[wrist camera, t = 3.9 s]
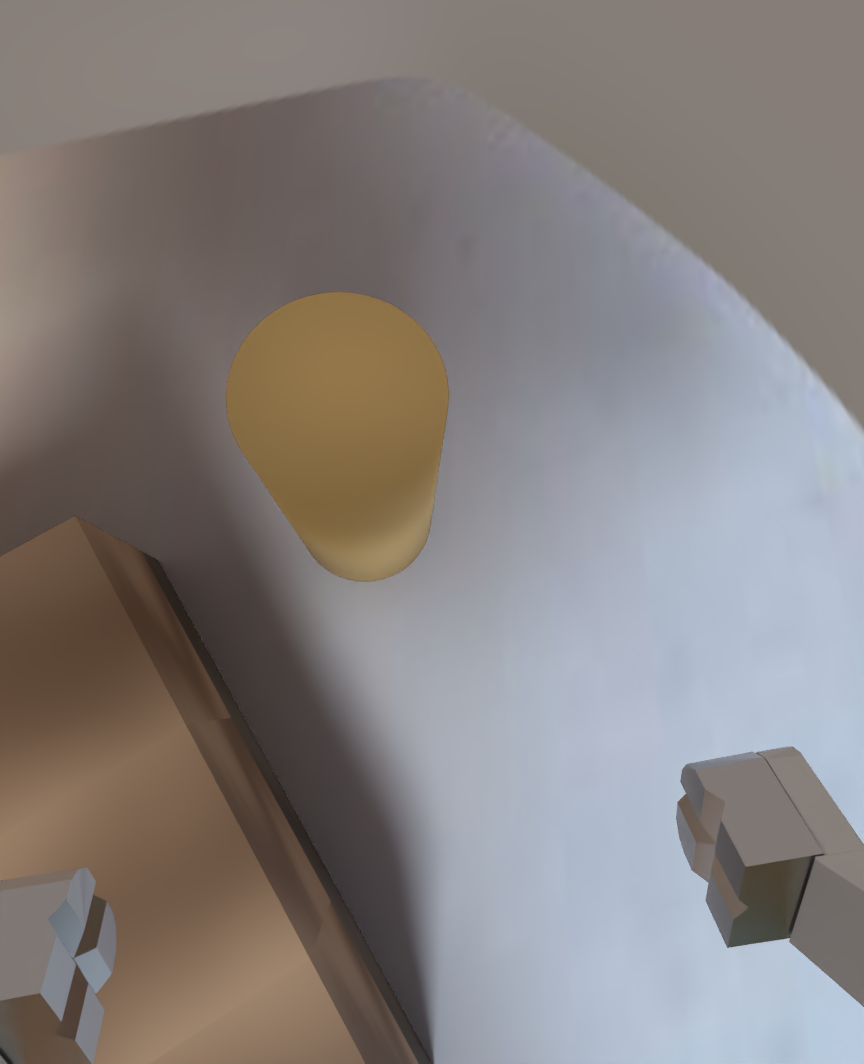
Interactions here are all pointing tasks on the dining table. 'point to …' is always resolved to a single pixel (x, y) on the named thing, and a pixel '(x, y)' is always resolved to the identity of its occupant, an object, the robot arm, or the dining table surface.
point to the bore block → (171, 825)
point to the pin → (344, 427)
